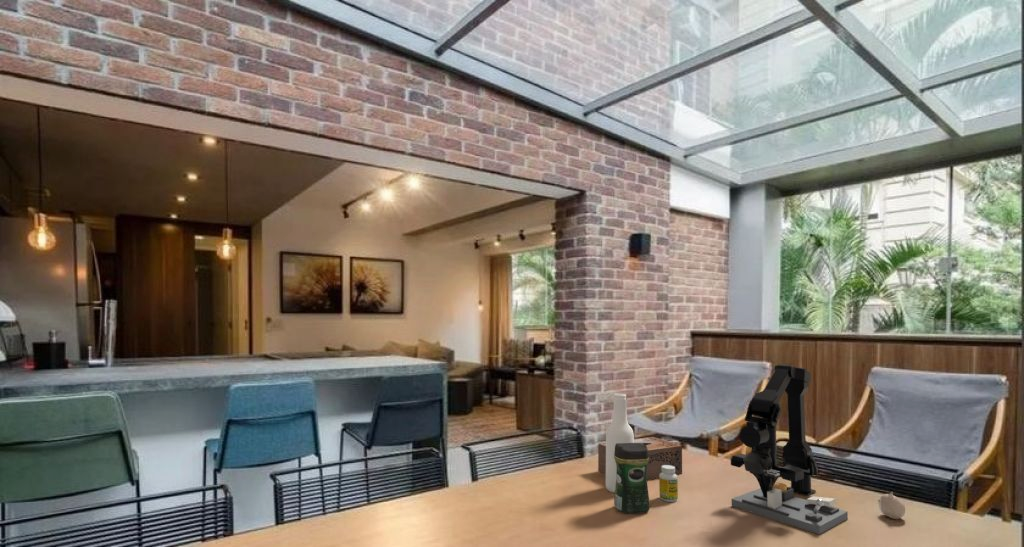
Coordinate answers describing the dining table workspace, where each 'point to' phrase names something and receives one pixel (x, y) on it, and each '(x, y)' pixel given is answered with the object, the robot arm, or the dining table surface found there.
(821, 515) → the panel
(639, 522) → the dining table surface
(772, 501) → the grey angular block
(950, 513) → the dining table surface
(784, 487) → the push button
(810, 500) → the white slab
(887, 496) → the garlic bulb
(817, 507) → the toggle lever
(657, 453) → the tissue box cover
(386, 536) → the dining table surface
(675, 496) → the supplement bottle
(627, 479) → the coffee jar
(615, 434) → the alcohol
